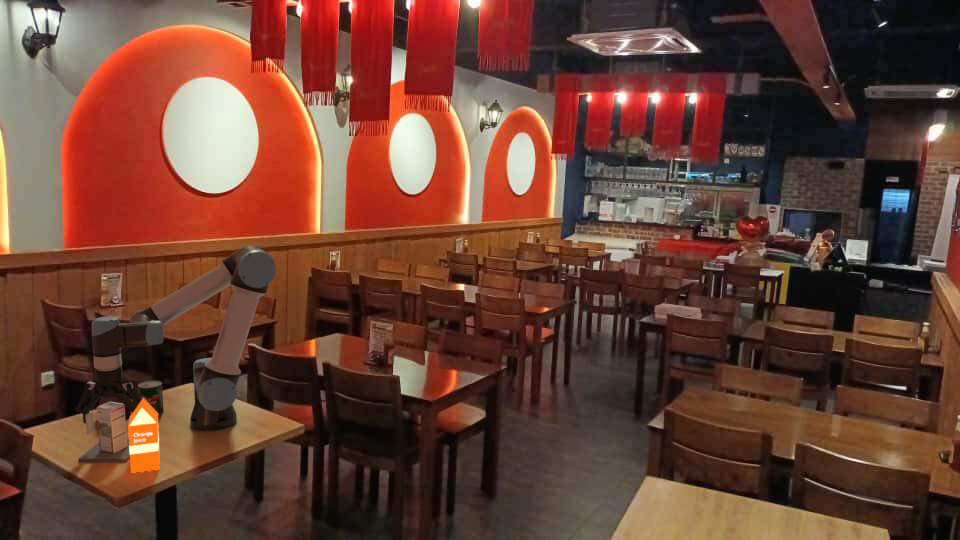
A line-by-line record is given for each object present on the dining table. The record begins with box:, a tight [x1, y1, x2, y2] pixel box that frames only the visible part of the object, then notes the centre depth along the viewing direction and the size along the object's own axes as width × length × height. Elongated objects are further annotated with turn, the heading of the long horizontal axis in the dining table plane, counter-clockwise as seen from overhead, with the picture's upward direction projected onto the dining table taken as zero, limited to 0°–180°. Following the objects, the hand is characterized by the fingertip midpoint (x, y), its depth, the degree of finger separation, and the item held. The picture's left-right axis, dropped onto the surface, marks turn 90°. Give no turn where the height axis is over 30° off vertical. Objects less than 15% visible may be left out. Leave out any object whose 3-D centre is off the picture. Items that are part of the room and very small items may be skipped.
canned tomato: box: [137, 380, 165, 416], centre depth 245 cm, size 8×8×11 cm
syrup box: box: [96, 402, 128, 453], centre depth 212 cm, size 6×6×14 cm
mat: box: [78, 439, 130, 463], centre depth 213 cm, size 14×14×1 cm
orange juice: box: [127, 398, 161, 474], centre depth 203 cm, size 8×9×20 cm
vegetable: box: [98, 393, 132, 419], centre depth 239 cm, size 10×10×15 cm
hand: (112, 433), depth 212 cm, fingers open, 13 cm apart
